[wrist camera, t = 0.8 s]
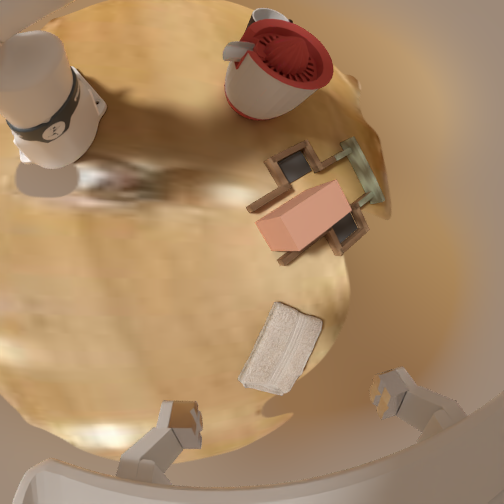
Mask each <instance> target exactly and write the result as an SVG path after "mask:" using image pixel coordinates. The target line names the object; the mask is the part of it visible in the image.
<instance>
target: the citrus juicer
mask: <svg viewBox="0 0 504 504" xmlns="http://www.w3.org/2000/svg"><path fill="white" fill-rule="evenodd" d="M223 60H224V61H230V63H229V66H228V68H227V73H226V78H225V85H224V86H225V94H226V98H227V101H228V103H229V105H230V106H231V107H232V109H233V110H234V111H236V112H237V113H238V114H240V115H241V116H243V117H245V118H248V119H251V120H269V119H273V118H276V117H278V116H281V115H283V114H285V113H287V112H289V111H291V110H293V109H294V108H295V107H297V106H298V105H299V104H301V103H302V102H303V101H304V100H305V99H307V98H308V97H309V96H310V95H312V94H313V93H314V92H315V91H316V90H318V89H319V88H322V87H324V86H326V85H327V84H328V83H329V82H330V80H331V78H332V75H333V64H332V60H331V58H330V55H329V53H328V52H327V50H326V49H325V47H324V46H323V45H322V44H321V42H320V41H319V40H318V39H317V38H316V37H314V36H313V35H312V34H311V33H309V32H308V31H306V30H305V29H303V28H301V27H300V26H298V25H296V24H293V23H291V22H287V21H284V20H279V19H263V20H259V21H256V22H254V23H252V24H251V25H250V26H249V27H248V28H247V30H246V31H245V33H244V35H243V36H242V38H241V40H240V41H239V42H230V43H228V44H227V46H226V47H225V48H224V51H223Z"/></svg>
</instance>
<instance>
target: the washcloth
mask: <svg viewBox="0 0 504 504" xmlns="http://www.w3.org/2000/svg"><path fill="white" fill-rule="evenodd" d="M321 328H322V320H321V319H319V318H316V317H314V316H310V315H304V314H302V313H300V312H298V311H297V310H295V309H294V308H292V307H290V306H287V305H284V304H282V303H280V302H274V304H273V307H272V309H271V311H270V312H269V316H268V317H267V320H266V322H265V325H264V326H263V329H262V330H261V332H260V335H259V337H258V339H257V341H256V344H255V345H254V349H253V350H252V352H251V353H250V356H249V359H248V360H247V362H246V363H245V366H244V368H243V369H242V371H241V373H240V375H239V376H238V381H240V382H241V383H243V386H244V387H245V388H254V389H258V390H261V391H265V392H269V393H273V394H277V395H281V396H282V395H283V394H284V393H287V392H289V391H290V390H291V388H292V386H293V384H294V383H295V381H296V380H297V379H298V377H299V376H300V375H301V374H302V373H303V369H304V367H305V365H306V362H307V360H308V358H309V356H310V354H311V353H312V350H313V348H314V345H315V342H316V340H317V338H318V336H319V334H320V332H321Z"/></svg>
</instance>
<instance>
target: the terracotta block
mask: <svg viewBox="0 0 504 504" xmlns="http://www.w3.org/2000/svg"><path fill="white" fill-rule="evenodd" d="M350 211H352V209H351V207H350V205H349V203H348V201H347V199H346V197H345V195H344V193H343V191H342V189H341V187H340V185H339V183H338V181H337V179H336V180H333V181H330V182H327V183H324V184H321V185H319V186H316V187H313V188H310V189H307V190H305V191H303V192H302V193H300V194H299V195H297V196H295V197H294V198H292V199H291V200H289V201H288V202H286V203H284V204H283V205H281V206H280V207H278V208H277V209H275V210H273V211H272V212H270V213H269V214H267V215H266V216H264V217H263V218H261V219H260V220H258V221H257V222H255V224H256V225H257V227H258V229H259V230H260V232H261V234H262V236H263V237H264V239H265V241H266V242H267V244H268V246H269V247H270V249H271V251H300V250H301V249H303V248H304V247H305V246H307V245H308V244H309V243H311V242H312V241H313V240H315V239H316V238H317V237H318V236H320V235H321V234H322V233H324V232H325V231H326V230H327V229H329V228H330V227H331V226H333V225H334V224H335V223H336V222H338V221H339V220H340V219H342V218H343V217H344V216H345V215H347V214H348V213H349V212H350Z"/></svg>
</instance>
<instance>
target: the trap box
mask: <svg viewBox="0 0 504 504" xmlns="http://www.w3.org/2000/svg"><path fill="white" fill-rule="evenodd" d="M340 145H341V146H342V148H343V151H341V152H339V153H337V154H336V155H334V156H332V157H330V158H328V159H327V160H325V161H323V162H320V161H319V159H318V157H317V155H316V154H315V152H314V150H313V148H312V147H311V145H310V143H309V142H308V140H305V141H303V142H301V143H299V144H297V145H295V146H293V147H291V148H289V149H287V150H284V151H282V152H281V153H279V154H277V155H275V156H273V157H271V158H269V159H267V160H266V161H264V163H265V165H266V167H267V168H268V170H269V172H270V173H271V175H272V177H273V178H274V180H275V182H276V184H277V185H278V188H277V189H275V190H273V191H272V192H270V193H268V194H267V195H265V196H263V197H262V198H260V199H258V200H257V201H255V202H253V203H252V204H250V205H249V206H247V207H246V208H247V210H248V212H249V213H251V212H253V211H255V210H257V209H258V208H260V207H261V206H263V205H265V204H266V203H268V202H269V201H271V200H273V199H274V198H276V197H277V196H279V195H281V194H282V193H284V192H286V191H287V190H289V189H291V186H290V184H289V183H291V182H293V181H294V180H296V179H298V178H299V177H301V176H303V175H305V174H306V173H308V172H310V171H311V168H312V169H313V171H314V173H316V172H318V171H320V170H322V169H324V168H326V167H327V166H329V165H331V164H332V163H334V162H336V161H338V160H339V159H341V158H343V157H345V156H346V155H347V157H348V159H349V161H350V163H351V165H352V167H353V169H354V171H355V173H356V174H357V176H358V178H359V180H360V182H361V184H362V187H363V189H364V191H365V194H363V195H362V196H361V197H359V198H358V199H357V200H356V201H354V202H353V203H352V204H350V207H351V209H352V211H351V213H352V215H353V217H354V219H353V217H352V215H351V213H350V212H349V213H348V214H347V215H345V216H344V217H343V218H342V219H340V220H339V221H338V222H336V223H335V224H334V225H333V226H331V227H330V228H329V229H327V230H326V231H325V232H324V233H322V234H321V235H320V236H318V237H317V238H316V239H315V240H313V241H312V242H311V243H309V244H308V245H307V246H305V247H304V248H303V249H301V250H300V251H288V252H287V253H285V254H284V255H283V256H281V257H280V258H279V259H277V261H278V263H279V264H280V265H283V266H285V265H287V264H288V263H289V262H291V261H292V260H293V259H295V258H296V257H297V256H298V255H300V254H301V253H302V252H304V251H305V250H306V249H308V248H309V247H310V246H311V245H313V244H314V243H315V242H317V241H318V240H319V239H320V238H322V237H323V236H324V235H325V237H326V239H327V241H328V243H329V245H330V247H331V249H332V251H333V253H334V255H339V256H341V255H342V254H343V253H344V252H345V251H346V250H347V249H349V248H350V247H351V246H352V245H353V244H354V243H355V242H357V241H358V240H359V239H360V238H361V237H362V236H363V235H364V234H365V233H367V232H368V231H369V227H368V225H367V223H366V221H365V219H364V216H363V214H362V212H361V210H360V207H361V206H363V205H364V204H365V203H366V202H368V201H370V203H371V204H374V203H380V202H383V201H384V200H385V198H384V195H383V193H382V191H381V189H380V187H379V184H378V182H377V180H376V178H375V176H374V174H373V172H372V170H371V168H370V166H369V164H368V162H367V160H366V158H365V156H364V154H363V152H362V150H361V148H360V147H359V145H358V143H357V141H356V139H355V137H351V138H349V139H347V140H345V141H343V142H341V143H340ZM299 150H302V152H303V154H304V155H305V157H306V159H307V161H308V162H309V164H310V166H311V168H310V166H309V164H308V163H307V161H306V159H305V157H304V156H303V154H302V152H301V151H299ZM297 151H299V152H297ZM295 152H297V153H295ZM293 153H295V154H293ZM291 154H293V155H291ZM289 155H291V156H289ZM287 156H289V157H288V158H286V157H287ZM284 158H286V159H284ZM282 159H284V160H282ZM280 160H282V161H280ZM278 161H280V162H278ZM277 162H278V163H277ZM354 220H355V222H356V224H357V226H358V228H357V226H356V224H355V222H354ZM355 230H356V231H355ZM354 231H355V232H354ZM353 232H354V233H353ZM348 236H349V237H348ZM347 237H348V238H347ZM346 238H347V239H346ZM341 242H342V243H341ZM340 243H341V244H340Z"/></svg>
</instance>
